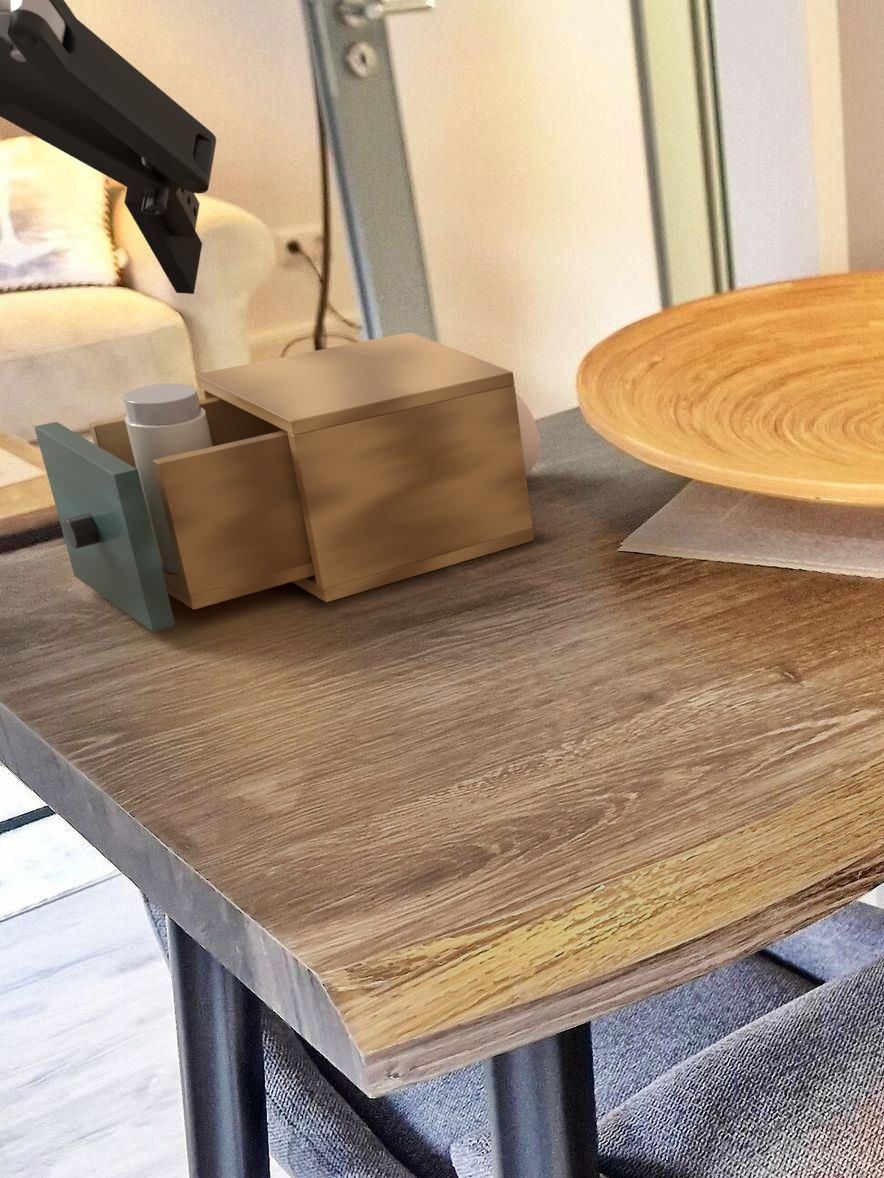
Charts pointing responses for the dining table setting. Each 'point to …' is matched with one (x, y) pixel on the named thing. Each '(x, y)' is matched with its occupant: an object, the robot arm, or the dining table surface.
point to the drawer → (180, 513)
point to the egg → (528, 435)
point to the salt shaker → (163, 445)
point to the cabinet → (392, 455)
